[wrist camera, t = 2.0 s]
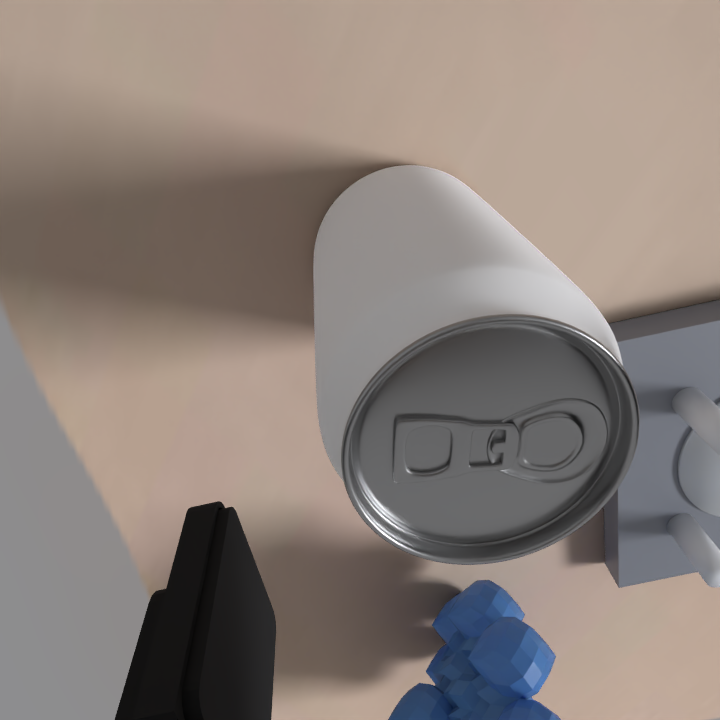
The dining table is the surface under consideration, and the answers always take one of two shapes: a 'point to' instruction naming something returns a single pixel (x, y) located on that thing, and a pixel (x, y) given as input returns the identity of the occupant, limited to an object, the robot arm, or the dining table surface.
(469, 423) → the can
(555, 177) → the dining table surface
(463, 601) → the grapes
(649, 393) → the pin tray
